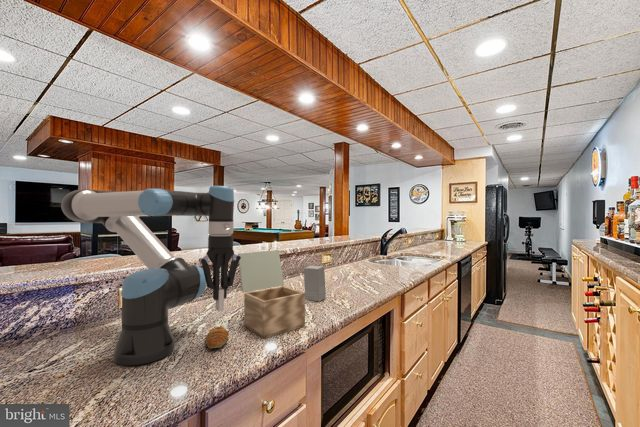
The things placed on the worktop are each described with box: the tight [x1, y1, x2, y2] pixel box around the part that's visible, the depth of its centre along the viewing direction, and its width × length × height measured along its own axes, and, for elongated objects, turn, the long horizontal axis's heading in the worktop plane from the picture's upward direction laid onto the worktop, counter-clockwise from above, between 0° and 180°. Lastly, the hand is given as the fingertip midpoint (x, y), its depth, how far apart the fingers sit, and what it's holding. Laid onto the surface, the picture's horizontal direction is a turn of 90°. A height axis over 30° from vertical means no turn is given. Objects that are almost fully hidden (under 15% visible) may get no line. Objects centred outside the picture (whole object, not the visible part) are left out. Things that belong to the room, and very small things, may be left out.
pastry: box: [205, 326, 229, 349], centre depth 92 cm, size 9×7×4 cm
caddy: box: [243, 285, 306, 340], centre depth 108 cm, size 17×14×12 cm
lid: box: [237, 249, 285, 293], centre depth 115 cm, size 18×14×2 cm
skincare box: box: [303, 265, 327, 302], centre depth 142 cm, size 8×7×16 cm
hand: (219, 309), depth 94 cm, fingers closed
